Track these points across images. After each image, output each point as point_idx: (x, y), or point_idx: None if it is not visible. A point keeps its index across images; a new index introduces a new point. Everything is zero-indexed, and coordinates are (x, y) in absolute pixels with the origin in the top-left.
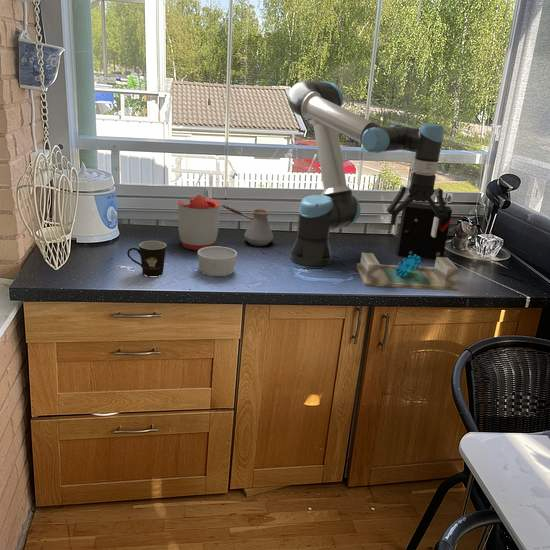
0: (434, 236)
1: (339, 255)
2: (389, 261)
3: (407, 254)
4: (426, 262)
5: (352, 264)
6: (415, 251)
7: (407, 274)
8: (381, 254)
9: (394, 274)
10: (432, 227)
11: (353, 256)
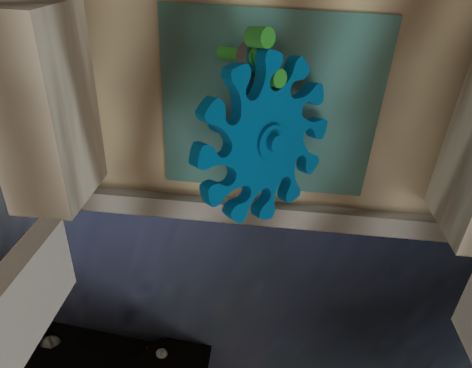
0: (45, 224)
1: (462, 350)
2: (266, 302)
3: (174, 348)
4: (110, 296)
5: (457, 271)
6: (141, 356)
7: (292, 60)
8: (273, 358)
9: (328, 132)
10: (33, 343)
11: (404, 342)
